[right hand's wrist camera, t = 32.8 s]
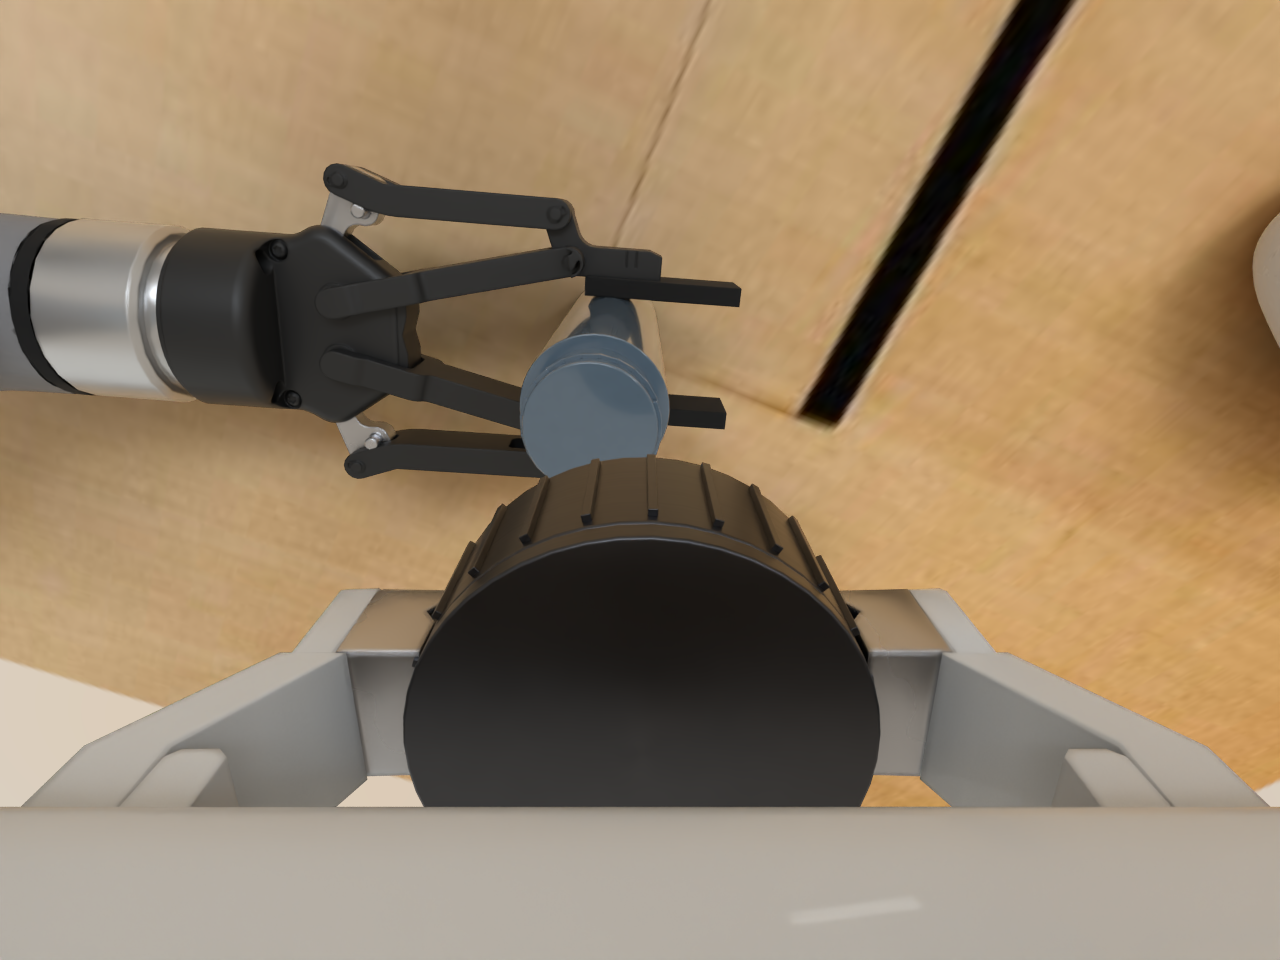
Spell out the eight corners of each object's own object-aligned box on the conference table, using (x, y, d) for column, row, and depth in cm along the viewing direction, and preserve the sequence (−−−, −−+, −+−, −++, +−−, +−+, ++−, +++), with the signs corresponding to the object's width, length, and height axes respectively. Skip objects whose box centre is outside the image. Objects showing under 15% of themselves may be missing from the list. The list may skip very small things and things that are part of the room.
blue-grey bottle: (584, 376, 40) (535, 521, 21) (560, 292, 38) (484, 371, 20) (666, 354, 39) (689, 484, 21) (644, 269, 38) (649, 327, 19)
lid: (906, 549, 10) (986, 653, 8) (722, 824, 12) (743, 975, 9) (536, 383, 9) (501, 444, 7) (398, 706, 11) (334, 841, 8)
